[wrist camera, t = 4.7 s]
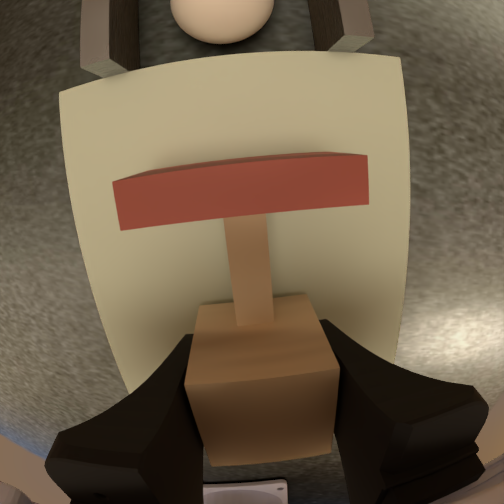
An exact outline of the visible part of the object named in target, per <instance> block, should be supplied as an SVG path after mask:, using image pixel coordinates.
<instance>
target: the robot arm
mask: <svg viewBox="0 0 504 504" xmlns="http://www.w3.org/2000/svg"><path fill="white" fill-rule="evenodd" d="M319 322H320V324H321V326H322V329H323V331H324V333H325V335H326V337H327V340H328V342H329V344H330V346H331V349H332V351H333V353H334V355H335V357H336V360H337V362H338V364H339V367H340V374H339V385H338V396H337V406H336V415H335V424H334V434H335V437H336V440H337V444H338V448H339V452H340V456H341V461H342V465H343V470H344V474H345V479H346V484H347V489H348V494H349V499H350V504H504V453H503V454H502V455H500V456H498V457H497V458H495V459H494V460H491V461H490V462H488V463H486V464H484V465H483V464H482V463H481V461H480V459H479V458H478V456H477V455H476V453H477V452H478V451H479V447H478V446H477V444H476V443H475V439H476V438H477V436H478V434H479V432H480V430H481V429H482V427H483V425H484V423H485V421H486V419H487V416H488V411H489V407H488V404H487V402H486V401H485V400H484V399H483V398H482V396H481V395H480V394H479V393H478V391H477V390H476V389H475V388H474V387H473V386H471V385H464V384H457V383H451V382H445V381H441V380H437V379H433V378H429V377H426V376H423V375H419V374H417V373H414V372H411V371H408V370H406V369H403V368H401V367H399V366H397V365H394V364H392V363H390V362H388V361H386V360H384V359H382V358H381V357H379V356H377V355H375V354H374V353H372V352H371V351H369V350H367V349H366V348H364V347H363V346H361V345H360V344H358V343H357V342H356V341H354V340H353V339H351V338H350V337H349V336H347V335H346V334H345V333H344V332H342V331H341V330H340V329H339V328H337V327H336V326H335V325H334V324H332V323H331V322H330V321H329V320H327V319H321V320H319ZM193 335H194V334H185V335H184V337H183V338H182V339H181V340H180V341H179V343H178V344H177V345H176V347H175V348H174V349H173V350H172V352H171V353H170V354H169V355H168V357H167V358H166V359H165V360H164V361H163V362H162V364H161V365H160V366H159V367H158V368H157V369H156V370H155V371H154V372H153V373H152V375H151V376H150V377H149V378H148V379H147V380H146V381H145V382H144V383H142V384H141V385H140V386H139V387H138V388H137V389H136V390H134V391H133V392H132V393H131V394H129V395H128V396H127V397H125V398H124V399H123V400H121V401H120V402H118V403H117V404H115V405H114V406H112V407H111V408H109V409H108V410H106V411H104V412H103V413H101V414H99V415H97V416H95V417H94V418H92V419H90V420H88V421H86V422H83V423H81V424H79V425H76V426H74V427H71V428H69V429H66V430H64V431H61V432H59V433H58V435H57V437H56V439H55V441H54V443H53V445H52V448H51V450H50V452H49V454H48V456H47V458H46V461H45V468H46V471H47V473H48V475H49V476H50V477H51V479H52V480H53V481H54V482H55V483H56V484H57V485H58V486H59V487H60V488H61V489H62V490H63V491H64V493H66V494H67V496H68V497H70V498H71V502H70V504H288V497H287V482H286V480H283V479H279V480H270V481H260V482H248V483H231V484H203V447H204V444H203V441H202V438H201V436H200V433H199V430H198V427H197V424H196V421H195V418H194V415H193V412H192V409H191V405H190V402H189V399H188V396H187V393H186V389H185V386H184V383H185V377H186V372H187V366H188V361H189V356H190V350H191V345H192V340H193ZM0 504H38V503H35V502H32V501H31V500H30V499H29V498H28V497H27V496H26V495H25V494H24V493H23V492H22V491H20V490H19V489H17V488H15V487H13V486H11V485H8V484H6V483H4V482H1V481H0Z"/></svg>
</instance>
